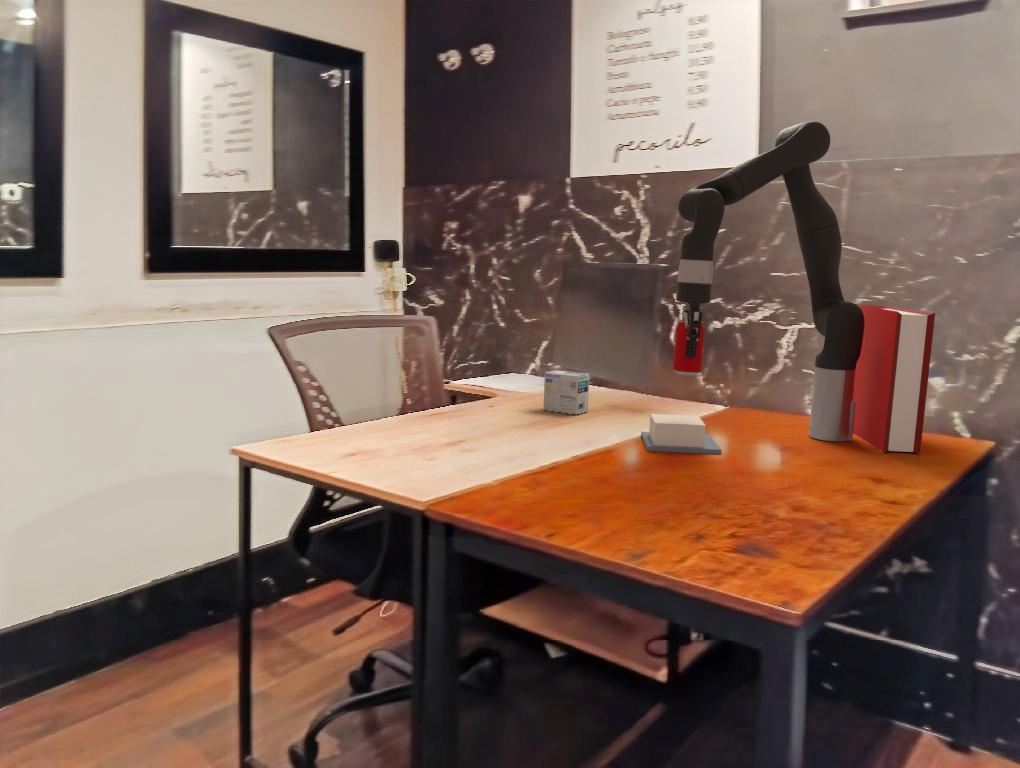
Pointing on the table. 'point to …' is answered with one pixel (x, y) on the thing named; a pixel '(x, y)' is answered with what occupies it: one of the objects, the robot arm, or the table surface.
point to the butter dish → (678, 435)
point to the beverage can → (680, 360)
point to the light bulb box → (566, 392)
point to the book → (893, 377)
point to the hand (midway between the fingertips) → (688, 355)
